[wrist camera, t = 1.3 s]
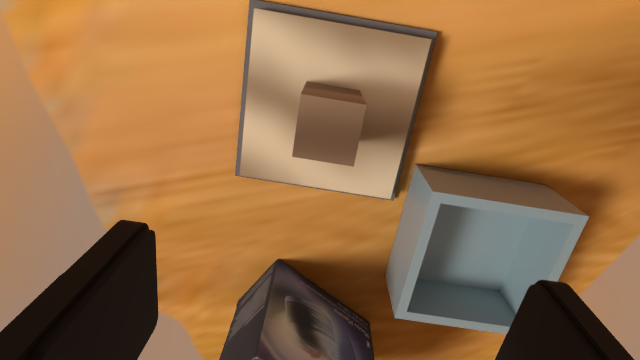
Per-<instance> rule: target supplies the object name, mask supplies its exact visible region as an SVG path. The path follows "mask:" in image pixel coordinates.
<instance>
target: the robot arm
mask: <svg viewBox="0 0 640 360" xmlns="http://www.w3.org/2000/svg"><path fill="white" fill-rule="evenodd" d="M157 320H158V296H157V268H156V241H155V232H154V231H153V230H149V227H148V225H147V224H146V223H141V222H134V221H127V220H120V221H119V222H117V223H116V224H115V225H114V226H113V227H112V228H111V229H110V230H109V231H108V232H107V233H106V234H105V235H104V236H103V237H102V238H100V239H99V240H98V241H97V242H96V243H95V244H94V245H93V246H92V247H91V248H90V249H89V250H88V251H87V252H86V253H85V254H84V255H83V256H82V257H80V258H79V259H78V260H77V261H76V262H75V263H74V264H73V265H72V266H71V267H70V268H69V269H68V270H67V271H66V272H65V273H63V274H62V275H60V276H59V277H58V278H57V279H56V280H55V281H54V282H53V283H52V284H51V285H50V286H49V287H48V288H47V289H45V291H43V292H42V293H41V294H40V295H39V296H38V297H37V298H36V299H35V300H34V301H33V302H32V303H31V304H30V305H29V306H27V307H26V308H25V309H24V310H23V311H22V312H21V313H20V314H19V315H18V316H17V317H16V318H15V319H14V320H13V321H12V322H11V323H10V324H8V325H7V326H6V327H5V328H4V329H3V330H2V331H1V332H0V360H137V359H138V357H139V355H140V354H141V352H142V350H143V348H144V347H145V345H146V343H147V341H148V340H149V338H150V336H151V334H152V333H153V331H154V329H155V326H156V324H157ZM495 360H634V359H633V358H632V357H631V355H630V354H629V353H628V352H627V351H626V350H625V349H624V347H623V346H622V345H621V344H620V343H619V342H618V341H617V340H616V339H615V337H614V336H613V335H612V334H611V333H610V332H609V330H608V329H607V328H606V327H605V326H604V325H603V324H602V322H601V321H600V320H599V319H598V318H597V317H596V316H595V314H594V313H593V312H592V311H591V310H590V309H589V308H588V306H587V305H586V304H585V303H584V302H583V301H582V300H581V298H580V297H579V296H578V295H577V294H576V293H575V292H574V290H573V289H572V288H571V287H570V286H569V285H568V284H566V283H562V282H555V281H548V280H539V281H537V282H536V283H535V284H533V285H531V286H529V288H528V290H527V292H526V294H525V296H524V298H523V300H522V302H521V305H520V307H519V309H518V311H517V313H516V315H515V318H514V320H513V322H512V324H511V326H510V328H509V331H508V333H507V335H506V337H505V339H504V341H503V344H502V346H501V348H500V350H499V352H498V354H497V356H496V359H495Z"/></svg>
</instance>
